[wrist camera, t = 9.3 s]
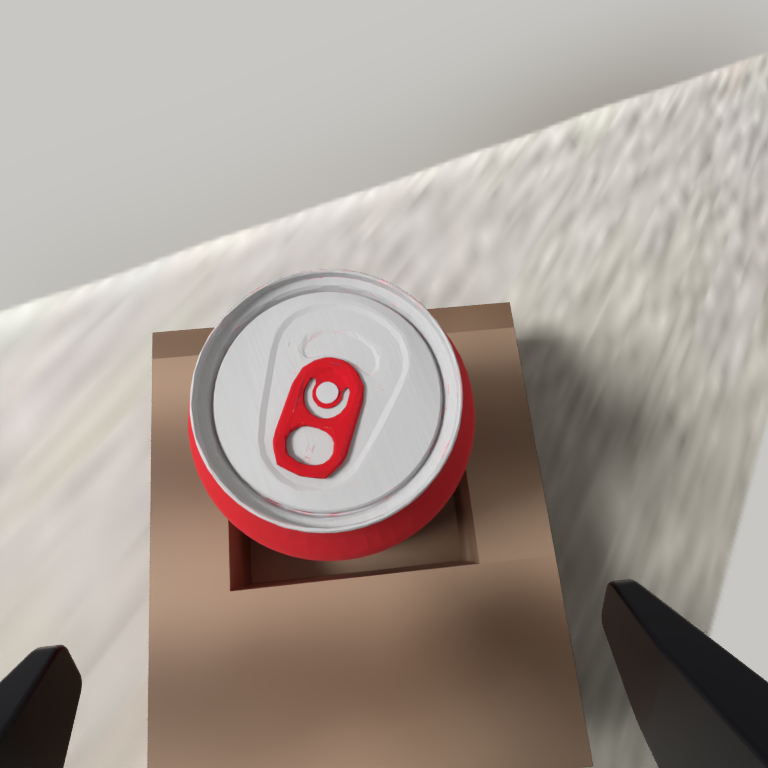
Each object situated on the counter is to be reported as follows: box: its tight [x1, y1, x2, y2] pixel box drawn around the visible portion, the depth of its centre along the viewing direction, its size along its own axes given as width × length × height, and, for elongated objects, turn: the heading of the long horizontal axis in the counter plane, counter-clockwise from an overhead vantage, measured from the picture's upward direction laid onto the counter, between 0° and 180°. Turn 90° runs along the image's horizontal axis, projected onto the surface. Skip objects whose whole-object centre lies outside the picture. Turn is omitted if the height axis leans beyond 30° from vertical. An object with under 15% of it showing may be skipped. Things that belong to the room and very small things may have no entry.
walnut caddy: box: [147, 302, 593, 768], centre depth 20 cm, size 15×13×4 cm
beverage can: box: [188, 269, 475, 561], centre depth 16 cm, size 6×6×12 cm
